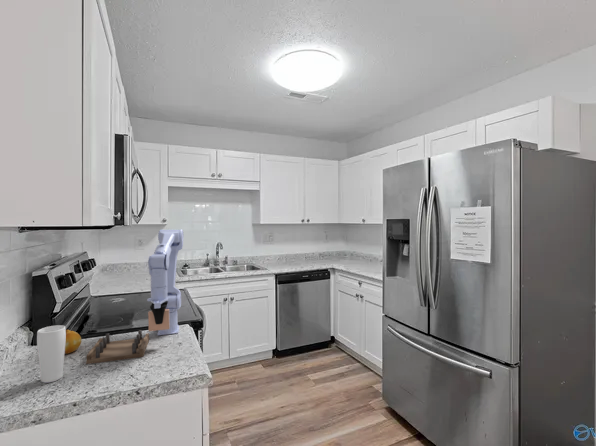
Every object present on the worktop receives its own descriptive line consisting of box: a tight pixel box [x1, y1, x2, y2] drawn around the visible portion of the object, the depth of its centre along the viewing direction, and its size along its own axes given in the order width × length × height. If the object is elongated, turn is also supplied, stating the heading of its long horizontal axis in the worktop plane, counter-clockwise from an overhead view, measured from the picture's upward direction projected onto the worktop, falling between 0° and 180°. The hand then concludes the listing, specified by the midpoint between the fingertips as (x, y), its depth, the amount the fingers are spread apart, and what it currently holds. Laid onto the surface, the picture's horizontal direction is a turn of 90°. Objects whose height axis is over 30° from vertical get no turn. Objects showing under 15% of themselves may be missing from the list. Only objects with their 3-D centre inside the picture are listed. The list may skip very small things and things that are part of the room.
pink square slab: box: [147, 309, 170, 332], centre depth 118 cm, size 2×7×7 cm, turn 108°
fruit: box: [65, 329, 82, 355], centre depth 114 cm, size 8×8×8 cm
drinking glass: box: [36, 324, 67, 384], centre depth 94 cm, size 7×7×15 cm
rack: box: [85, 329, 150, 365], centre depth 114 cm, size 16×17×5 cm
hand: (159, 322), depth 118 cm, fingers closed on pink square slab, 2 cm apart
